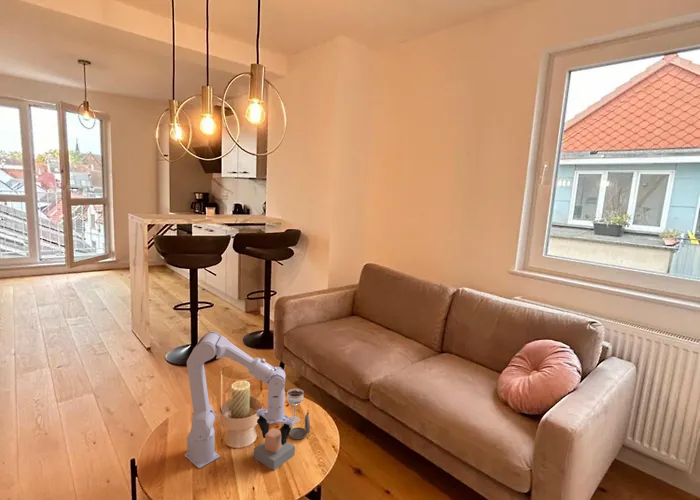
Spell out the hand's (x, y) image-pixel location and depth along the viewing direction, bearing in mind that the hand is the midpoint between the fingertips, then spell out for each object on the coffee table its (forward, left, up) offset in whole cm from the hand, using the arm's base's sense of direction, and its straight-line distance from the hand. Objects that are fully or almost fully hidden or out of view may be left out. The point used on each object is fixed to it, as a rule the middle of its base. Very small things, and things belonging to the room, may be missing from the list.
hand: (274, 439), depth 137 cm
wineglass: (-11, +20, -7) cm, 24 cm away
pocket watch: (-2, +15, -7) cm, 16 cm away
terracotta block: (0, 0, -3) cm, 3 cm away
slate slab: (0, 0, -7) cm, 7 cm away
